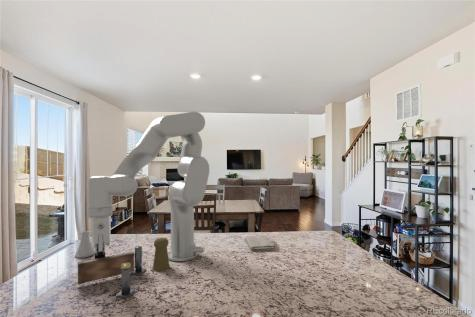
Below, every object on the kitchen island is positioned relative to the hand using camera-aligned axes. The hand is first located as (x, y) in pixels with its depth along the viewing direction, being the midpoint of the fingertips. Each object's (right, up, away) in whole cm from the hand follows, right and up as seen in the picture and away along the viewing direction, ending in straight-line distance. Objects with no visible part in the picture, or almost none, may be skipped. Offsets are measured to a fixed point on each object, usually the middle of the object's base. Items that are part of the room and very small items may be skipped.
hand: (99, 265), depth 87 cm
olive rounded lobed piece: (+19, -5, +8) cm, 21 cm away
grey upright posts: (+13, -4, -3) cm, 14 cm away
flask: (-18, -5, +21) cm, 28 cm away
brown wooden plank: (+3, -3, -2) cm, 5 cm away
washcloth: (+58, -5, +33) cm, 67 cm away
